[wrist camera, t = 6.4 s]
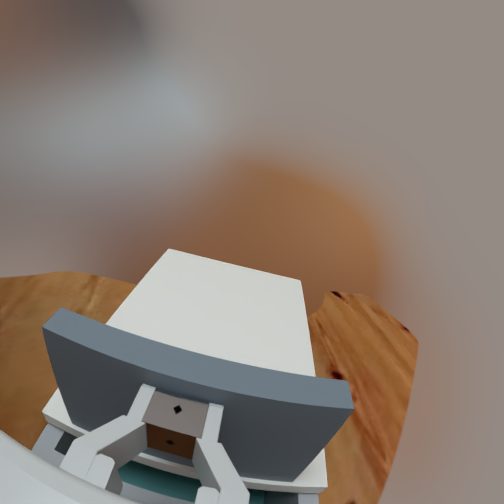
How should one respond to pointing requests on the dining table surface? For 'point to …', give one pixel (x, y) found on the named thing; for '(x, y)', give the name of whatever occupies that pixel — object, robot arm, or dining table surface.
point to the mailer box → (155, 477)
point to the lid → (206, 368)
